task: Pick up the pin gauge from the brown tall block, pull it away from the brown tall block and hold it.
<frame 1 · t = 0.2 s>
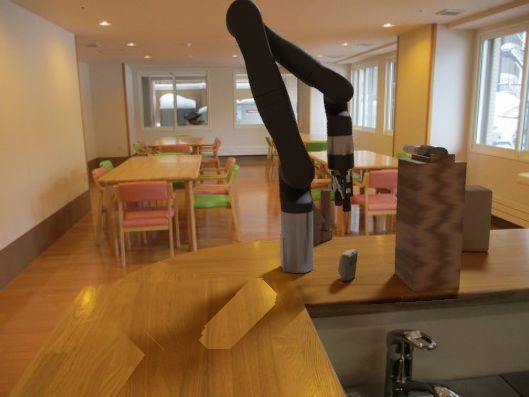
hand: (342, 208, 130), 17 cm above the counter, tool pointing down, fingers open, 8 cm apart
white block: (347, 280, 122), on the counter
brown tall block: (425, 280, 120), on the counter
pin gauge: (423, 158, 119), point 32 cm above the counter, touching brown tall block
wooden block 2: (319, 242, 160), on the counter
wooden block: (467, 248, 148), on the counter
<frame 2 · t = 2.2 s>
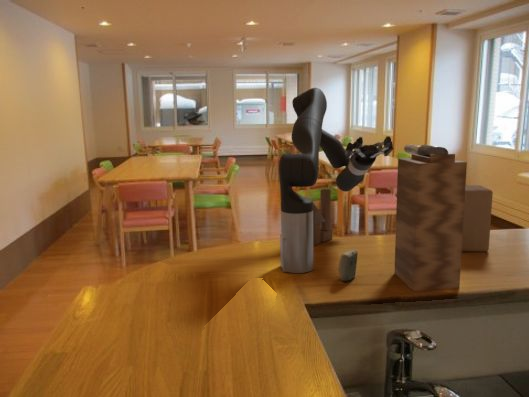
hand: (375, 139, 138), 36 cm above the counter, tool pointing upward, fingers open, 8 cm apart
nothing on the counter moved.
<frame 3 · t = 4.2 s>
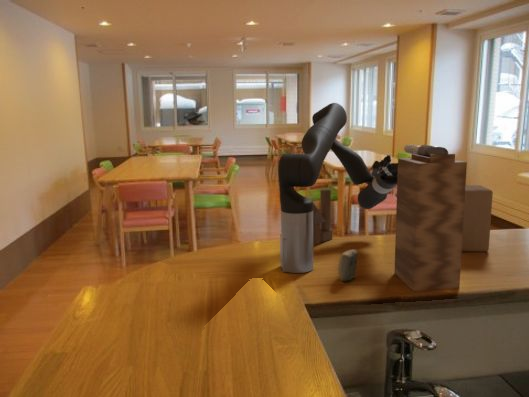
hand: (403, 157, 132), 31 cm above the counter, tool pointing upward, fingers open, 8 cm apart
nothing on the counter moved.
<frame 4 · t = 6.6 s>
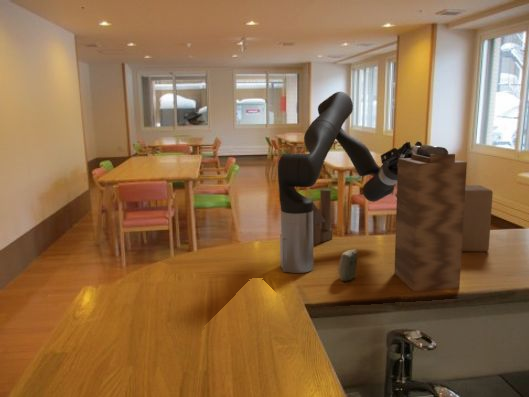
hand: (414, 144, 124), 35 cm above the counter, tool pointing upward, fingers closed on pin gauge, 2 cm apart
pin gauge: (423, 158, 119), point 32 cm above the counter, touching brown tall block, gripper
everything else where it was.
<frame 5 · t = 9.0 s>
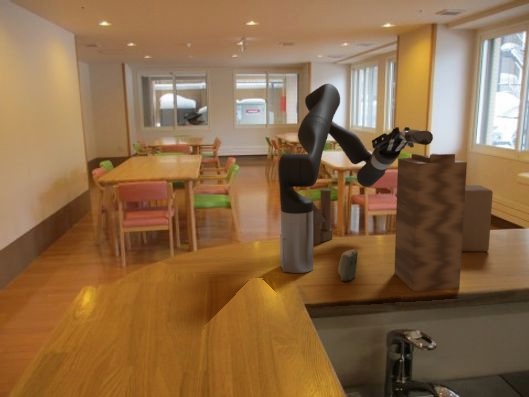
hand: (403, 129, 132), 39 cm above the counter, tool pointing upward, fingers closed on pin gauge, 2 cm apart
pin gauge: (410, 142, 127), point 36 cm above the counter, touching gripper
everything else where it was.
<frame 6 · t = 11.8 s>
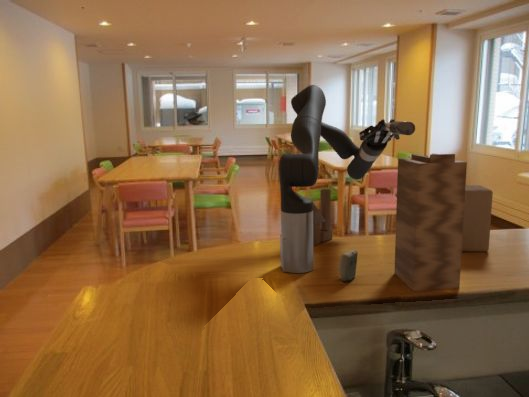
hand: (388, 121, 138), 41 cm above the counter, tool pointing upward, fingers closed on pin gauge, 2 cm apart
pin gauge: (395, 133, 133), point 38 cm above the counter, touching gripper
everything else where it was.
at the end: the gripper is holding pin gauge; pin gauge moved 16.6 cm from its start; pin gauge touching gripper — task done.
